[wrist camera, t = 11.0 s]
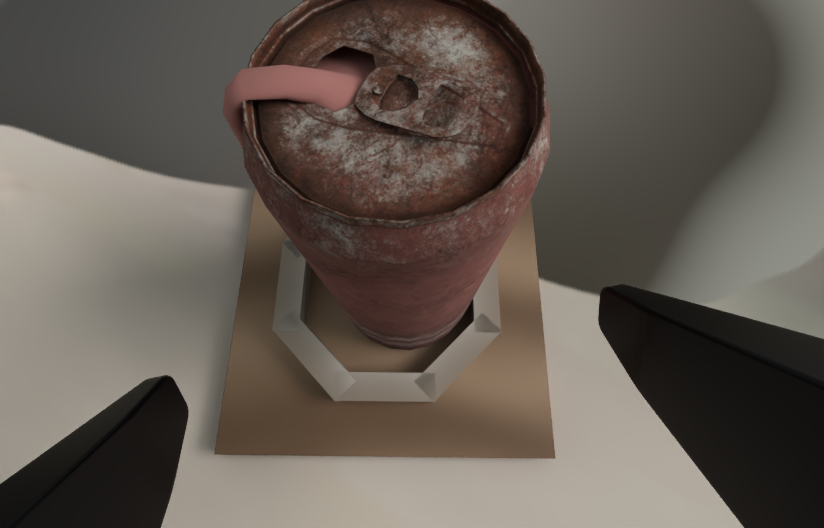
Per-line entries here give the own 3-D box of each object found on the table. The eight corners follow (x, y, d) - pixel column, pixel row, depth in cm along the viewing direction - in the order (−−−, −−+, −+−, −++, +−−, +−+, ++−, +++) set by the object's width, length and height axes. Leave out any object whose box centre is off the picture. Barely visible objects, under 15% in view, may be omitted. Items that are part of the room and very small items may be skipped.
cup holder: (549, 456, 19) (564, 462, 17) (222, 452, 19) (201, 458, 17) (523, 170, 23) (533, 149, 22) (264, 168, 24) (251, 147, 22)
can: (332, 246, 21) (196, -18, 8) (451, 224, 22) (514, -63, 8) (349, 363, 19) (208, 278, 6) (480, 337, 20) (621, 201, 6)
